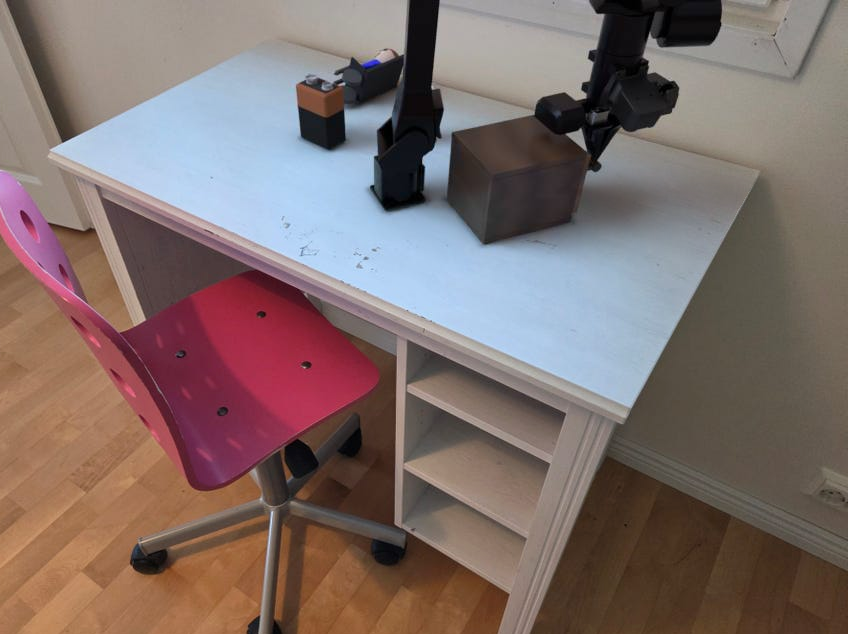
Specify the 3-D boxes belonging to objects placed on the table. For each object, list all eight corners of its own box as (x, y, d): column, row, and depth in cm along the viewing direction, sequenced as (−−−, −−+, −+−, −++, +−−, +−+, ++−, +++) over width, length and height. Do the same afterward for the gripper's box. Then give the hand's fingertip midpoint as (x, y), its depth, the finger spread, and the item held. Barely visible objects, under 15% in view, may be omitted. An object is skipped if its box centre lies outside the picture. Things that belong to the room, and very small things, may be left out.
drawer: (562, 169, 99) (574, 114, 92) (602, 205, 92) (618, 148, 85) (462, 193, 95) (468, 136, 88) (497, 232, 88) (506, 175, 82)
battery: (318, 128, 111) (313, 68, 103) (347, 141, 107) (344, 80, 100) (299, 138, 108) (293, 78, 101) (328, 151, 105) (324, 90, 98)
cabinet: (527, 180, 98) (540, 113, 91) (570, 222, 91) (587, 152, 83) (446, 199, 95) (451, 131, 87) (483, 244, 88) (492, 175, 80)
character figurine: (327, 104, 117) (388, 79, 124) (353, 115, 113) (415, 88, 120) (322, 58, 112) (386, 35, 118) (349, 68, 108) (414, 43, 114)
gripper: (594, 88, 74) (567, 205, 85) (727, 59, 78) (684, 174, 89) (542, 51, 81) (523, 164, 92) (667, 26, 85) (634, 137, 96)
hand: (592, 160), depth 92 cm, fingers closed
